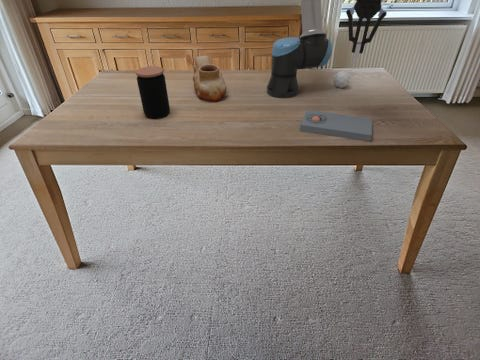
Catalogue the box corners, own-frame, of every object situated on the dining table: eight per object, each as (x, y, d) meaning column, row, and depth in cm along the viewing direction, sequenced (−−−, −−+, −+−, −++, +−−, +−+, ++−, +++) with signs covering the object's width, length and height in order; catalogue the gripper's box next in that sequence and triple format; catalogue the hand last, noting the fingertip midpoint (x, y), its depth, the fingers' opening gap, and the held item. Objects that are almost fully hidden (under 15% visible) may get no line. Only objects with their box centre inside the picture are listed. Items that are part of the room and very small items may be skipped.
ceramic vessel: (215, 81, 159) (214, 51, 150) (231, 100, 139) (230, 66, 130) (189, 85, 155) (186, 54, 146) (201, 104, 136) (198, 70, 126)
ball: (321, 122, 116) (313, 127, 117) (321, 121, 119) (313, 126, 121) (317, 114, 116) (309, 119, 117) (317, 114, 119) (309, 118, 120)
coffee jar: (175, 110, 131) (168, 67, 120) (162, 121, 123) (154, 76, 112) (153, 107, 134) (145, 65, 123) (139, 117, 126) (129, 73, 115)
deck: (299, 130, 115) (300, 124, 114) (306, 115, 126) (306, 109, 124) (369, 141, 108) (371, 135, 107) (370, 124, 119) (372, 118, 117)
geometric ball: (335, 92, 152) (327, 79, 150) (344, 83, 155) (337, 69, 152) (346, 89, 145) (338, 75, 143) (356, 79, 148) (348, 65, 145)
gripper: (349, -14, 96) (335, 63, 110) (394, -12, 92) (373, 67, 107) (352, -17, 101) (337, 57, 116) (394, -15, 98) (374, 61, 112)
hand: (354, 62), depth 111 cm, fingers closed
